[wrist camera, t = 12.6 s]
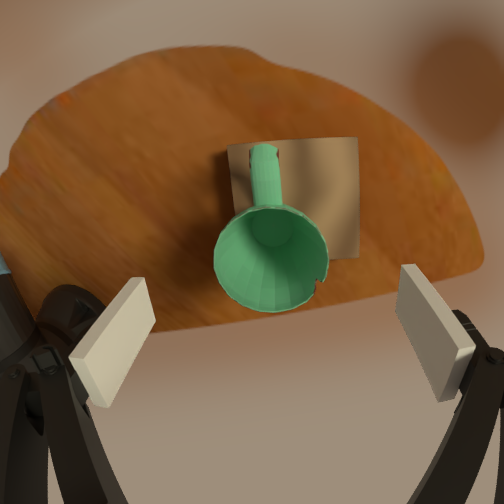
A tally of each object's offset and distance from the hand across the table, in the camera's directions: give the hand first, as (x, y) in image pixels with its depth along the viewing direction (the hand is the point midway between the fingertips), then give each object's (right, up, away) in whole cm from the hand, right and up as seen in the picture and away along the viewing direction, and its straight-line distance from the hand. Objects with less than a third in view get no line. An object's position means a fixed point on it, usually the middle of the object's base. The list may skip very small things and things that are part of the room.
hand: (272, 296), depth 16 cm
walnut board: (+4, +9, +22) cm, 24 cm away
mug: (+1, +7, +20) cm, 21 cm away
